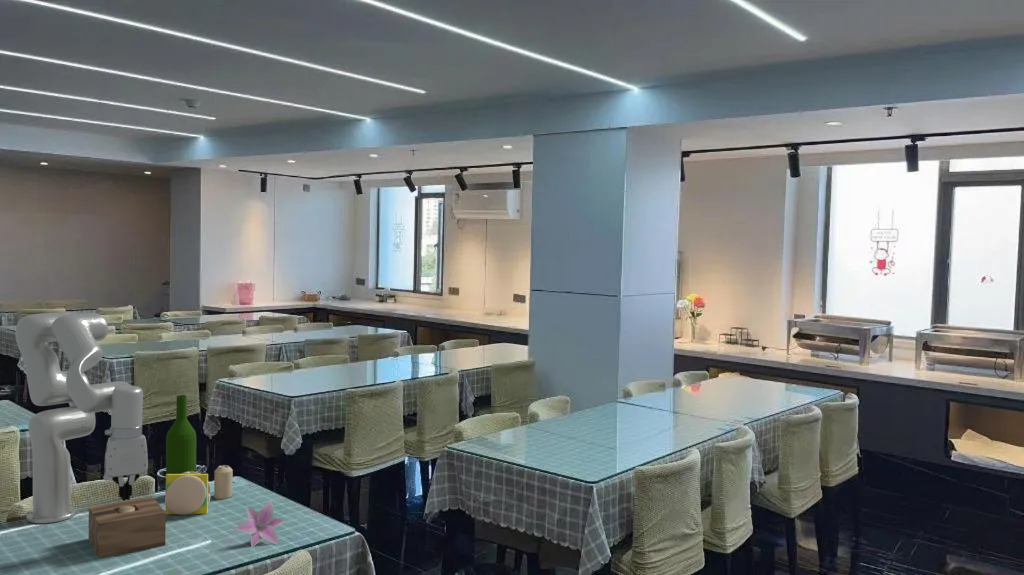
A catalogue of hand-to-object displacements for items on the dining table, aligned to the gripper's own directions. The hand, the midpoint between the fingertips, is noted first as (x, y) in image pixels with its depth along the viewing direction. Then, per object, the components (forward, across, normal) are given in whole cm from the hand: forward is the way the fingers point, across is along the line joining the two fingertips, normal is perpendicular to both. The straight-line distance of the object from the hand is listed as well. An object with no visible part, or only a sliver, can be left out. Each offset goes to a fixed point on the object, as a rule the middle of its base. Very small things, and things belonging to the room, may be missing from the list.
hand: (125, 498), depth 207 cm
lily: (+11, +30, -20) cm, 38 cm away
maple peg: (+10, 0, -1) cm, 10 cm away
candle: (+12, +33, +24) cm, 43 cm away
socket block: (+12, 0, -1) cm, 12 cm away
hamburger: (+12, +20, +15) cm, 28 cm away
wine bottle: (+13, +22, +32) cm, 41 cm away
